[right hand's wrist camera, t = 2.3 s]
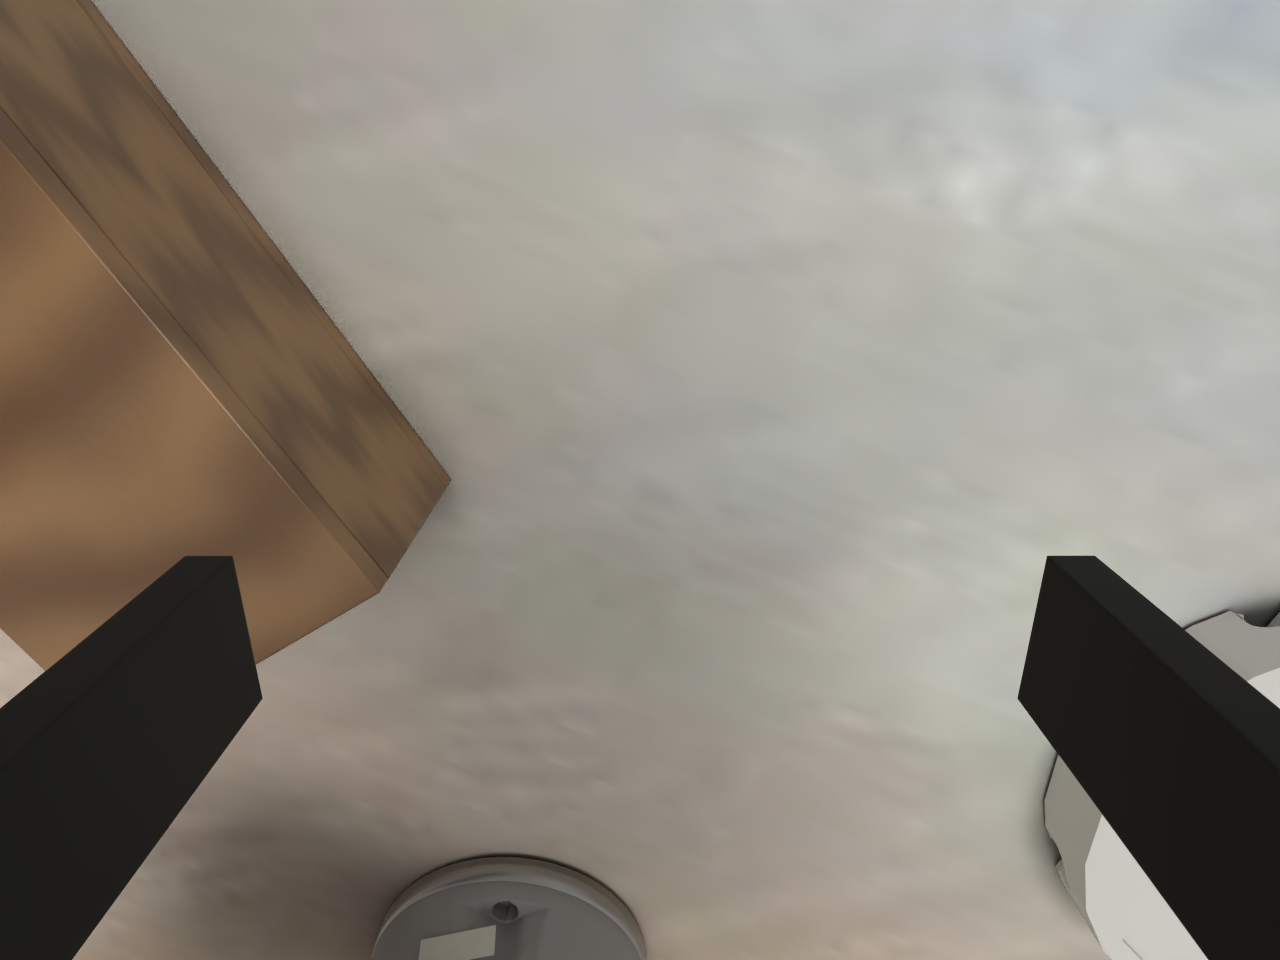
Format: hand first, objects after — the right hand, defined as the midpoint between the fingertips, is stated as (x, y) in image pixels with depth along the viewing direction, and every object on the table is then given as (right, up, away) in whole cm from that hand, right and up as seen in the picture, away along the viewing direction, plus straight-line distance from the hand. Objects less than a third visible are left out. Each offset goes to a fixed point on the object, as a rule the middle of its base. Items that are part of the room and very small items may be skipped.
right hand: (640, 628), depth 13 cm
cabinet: (-19, +8, +19) cm, 28 cm away
